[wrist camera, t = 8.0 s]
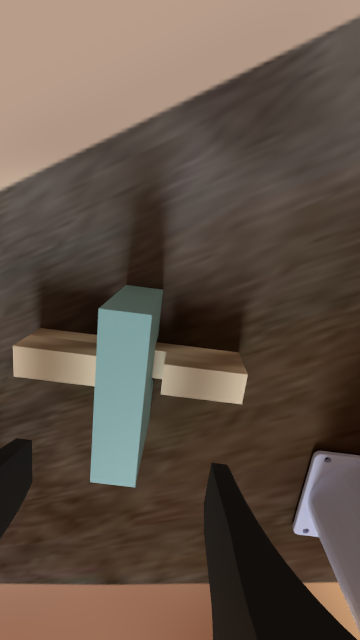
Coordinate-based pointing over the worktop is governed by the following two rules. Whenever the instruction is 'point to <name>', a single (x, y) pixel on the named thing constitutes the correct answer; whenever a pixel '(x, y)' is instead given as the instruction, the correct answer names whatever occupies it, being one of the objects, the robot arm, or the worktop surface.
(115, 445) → the teal notched block
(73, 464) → the worktop surface
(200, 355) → the birch slotted rail
